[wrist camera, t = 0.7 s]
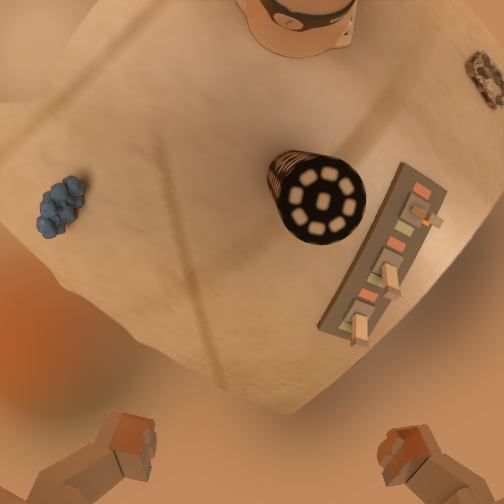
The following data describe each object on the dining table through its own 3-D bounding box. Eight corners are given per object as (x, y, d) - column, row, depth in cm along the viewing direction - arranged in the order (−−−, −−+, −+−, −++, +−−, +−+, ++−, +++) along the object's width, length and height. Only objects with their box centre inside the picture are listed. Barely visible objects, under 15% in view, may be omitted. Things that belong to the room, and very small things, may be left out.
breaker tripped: (413, 204, 45) (431, 212, 39) (424, 211, 45) (443, 220, 40) (409, 212, 45) (427, 221, 40) (421, 218, 46) (439, 228, 40)
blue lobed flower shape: (76, 158, 45) (34, 166, 34) (104, 179, 46) (66, 191, 35) (50, 214, 48) (10, 233, 37) (76, 234, 50) (39, 258, 38)
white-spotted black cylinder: (314, 208, 48) (353, 252, 29) (262, 198, 48) (269, 236, 29) (326, 157, 46) (375, 168, 27) (272, 145, 45) (288, 146, 26)
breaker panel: (400, 162, 46) (407, 163, 43) (442, 189, 47) (450, 192, 44) (317, 325, 55) (319, 333, 53) (360, 340, 57) (364, 347, 54)
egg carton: (505, 95, 40) (518, 94, 36) (489, 113, 42) (502, 113, 38) (477, 49, 37) (490, 46, 34) (460, 66, 39) (472, 63, 35)
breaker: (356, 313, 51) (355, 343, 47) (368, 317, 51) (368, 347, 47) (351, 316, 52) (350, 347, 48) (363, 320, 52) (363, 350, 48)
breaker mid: (385, 262, 48) (388, 291, 44) (397, 267, 48) (400, 296, 44) (380, 266, 49) (382, 296, 45) (392, 272, 49) (395, 301, 45)
